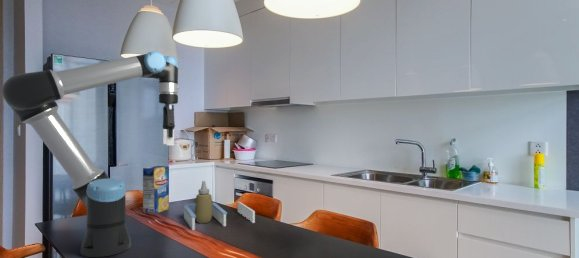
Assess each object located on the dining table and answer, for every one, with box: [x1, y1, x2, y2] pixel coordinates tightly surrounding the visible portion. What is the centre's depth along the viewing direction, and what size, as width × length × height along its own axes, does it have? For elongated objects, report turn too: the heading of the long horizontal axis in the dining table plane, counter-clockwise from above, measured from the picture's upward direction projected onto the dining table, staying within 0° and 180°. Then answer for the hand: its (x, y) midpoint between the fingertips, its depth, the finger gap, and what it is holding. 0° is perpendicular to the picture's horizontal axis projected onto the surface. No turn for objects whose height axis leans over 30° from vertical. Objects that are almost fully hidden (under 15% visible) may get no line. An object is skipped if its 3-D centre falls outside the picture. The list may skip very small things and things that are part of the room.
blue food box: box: [142, 165, 170, 215], centre depth 173 cm, size 7×11×22 cm, turn 162°
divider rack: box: [182, 201, 256, 231], centre depth 155 cm, size 23×27×6 cm
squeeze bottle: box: [195, 180, 213, 224], centre depth 152 cm, size 8×8×18 cm
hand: (168, 144), depth 143 cm, fingers open, 13 cm apart
